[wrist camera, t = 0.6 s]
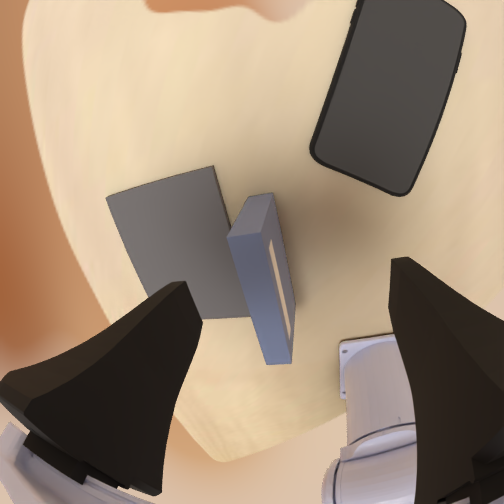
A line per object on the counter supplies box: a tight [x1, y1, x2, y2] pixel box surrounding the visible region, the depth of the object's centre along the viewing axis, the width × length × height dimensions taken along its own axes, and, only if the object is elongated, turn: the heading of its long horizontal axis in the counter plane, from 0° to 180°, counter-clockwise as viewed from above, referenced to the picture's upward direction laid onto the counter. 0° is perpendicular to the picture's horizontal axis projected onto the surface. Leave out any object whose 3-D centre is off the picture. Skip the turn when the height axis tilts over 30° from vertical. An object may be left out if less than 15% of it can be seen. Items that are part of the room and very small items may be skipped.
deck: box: [227, 193, 296, 365], centre depth 17 cm, size 9×2×6 cm, turn 13°
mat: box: [106, 166, 251, 319], centre depth 21 cm, size 12×9×1 cm
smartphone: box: [309, 0, 466, 197], centre depth 12 cm, size 7×1×15 cm
